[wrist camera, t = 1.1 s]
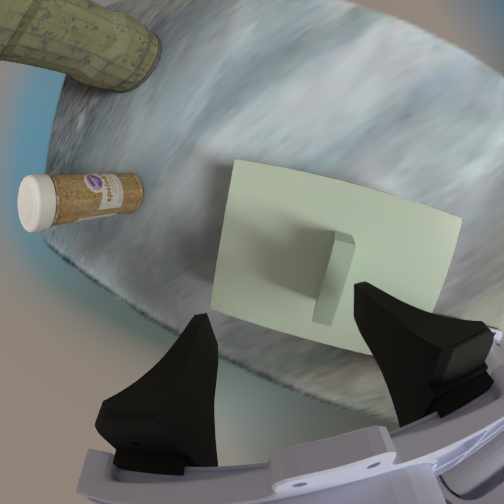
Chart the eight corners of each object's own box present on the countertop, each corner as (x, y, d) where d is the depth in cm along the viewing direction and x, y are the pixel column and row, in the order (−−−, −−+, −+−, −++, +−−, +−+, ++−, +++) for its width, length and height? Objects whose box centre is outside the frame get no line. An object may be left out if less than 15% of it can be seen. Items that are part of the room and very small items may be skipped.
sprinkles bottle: (151, 187, 27) (42, 194, 14) (133, 221, 29) (31, 245, 16) (126, 164, 27) (23, 164, 15) (110, 198, 29) (12, 211, 16)
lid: (453, 216, 16) (485, 225, 11) (404, 352, 19) (416, 390, 15) (242, 161, 20) (213, 153, 15) (217, 301, 23) (188, 327, 18)
